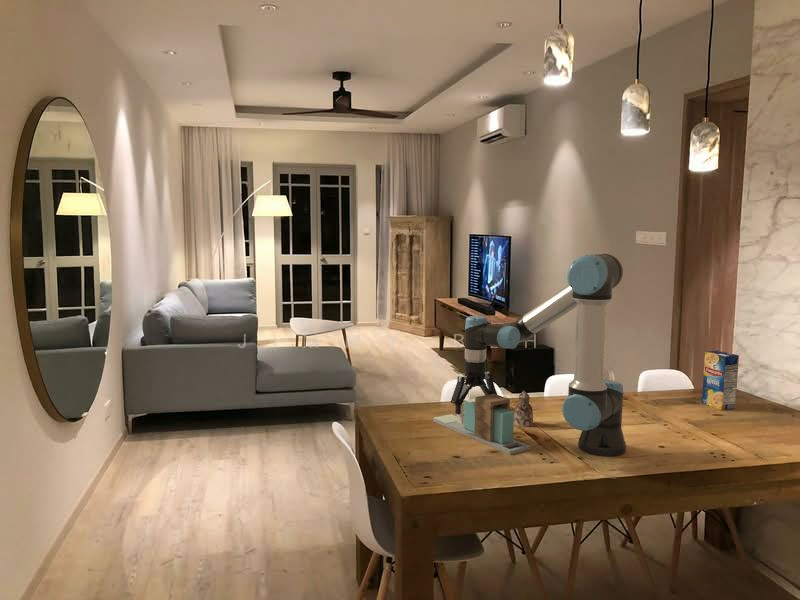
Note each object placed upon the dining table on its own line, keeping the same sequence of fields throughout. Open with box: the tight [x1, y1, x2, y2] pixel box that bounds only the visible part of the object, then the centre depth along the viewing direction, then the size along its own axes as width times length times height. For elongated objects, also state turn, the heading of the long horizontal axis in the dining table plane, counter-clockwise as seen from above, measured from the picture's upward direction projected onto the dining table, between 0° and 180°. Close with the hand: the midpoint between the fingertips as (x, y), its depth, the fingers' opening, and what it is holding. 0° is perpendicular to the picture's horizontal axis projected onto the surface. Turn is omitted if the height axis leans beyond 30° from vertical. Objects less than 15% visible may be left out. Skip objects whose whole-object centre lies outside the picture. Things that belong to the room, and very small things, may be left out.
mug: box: [467, 387, 485, 400], centre depth 269 cm, size 12×10×8 cm
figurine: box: [514, 390, 534, 428], centre depth 246 cm, size 7×7×12 cm
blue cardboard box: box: [701, 349, 740, 411], centre depth 271 cm, size 7×11×22 cm, turn 18°
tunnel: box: [475, 394, 511, 442], centre depth 227 cm, size 8×8×14 cm
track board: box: [432, 413, 531, 456], centre depth 234 cm, size 42×9×1 cm, turn 33°
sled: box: [463, 399, 515, 444], centre depth 229 cm, size 20×5×10 cm, turn 33°
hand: (473, 420), depth 235 cm, fingers open, 12 cm apart
